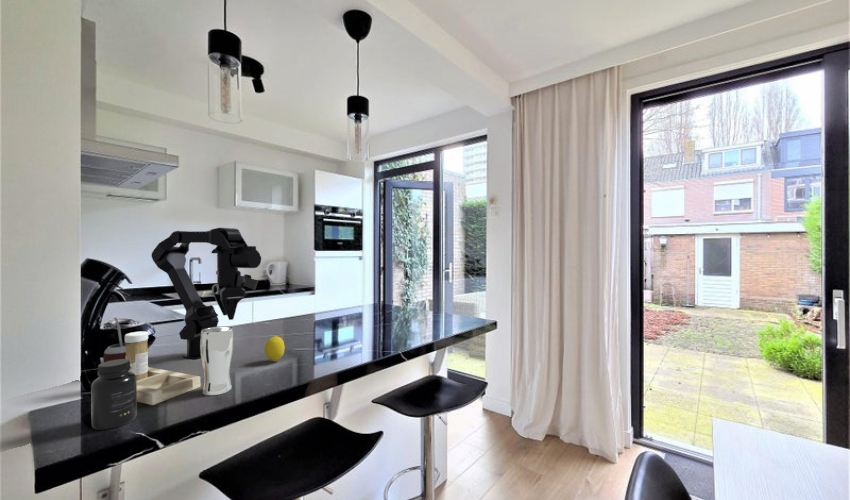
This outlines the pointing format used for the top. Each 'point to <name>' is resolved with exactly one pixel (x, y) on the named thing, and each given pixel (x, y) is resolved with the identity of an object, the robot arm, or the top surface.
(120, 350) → the mate gourd
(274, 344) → the lemon
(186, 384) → the beige wooden flat tray
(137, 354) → the sprinkles bottle
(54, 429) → the top surface
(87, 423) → the top surface
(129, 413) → the supplement bottle
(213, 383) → the beer glass
